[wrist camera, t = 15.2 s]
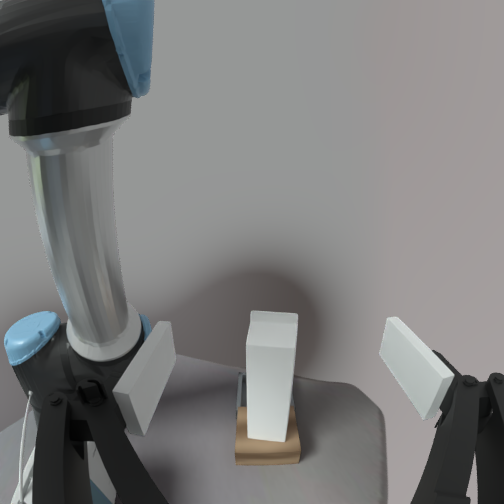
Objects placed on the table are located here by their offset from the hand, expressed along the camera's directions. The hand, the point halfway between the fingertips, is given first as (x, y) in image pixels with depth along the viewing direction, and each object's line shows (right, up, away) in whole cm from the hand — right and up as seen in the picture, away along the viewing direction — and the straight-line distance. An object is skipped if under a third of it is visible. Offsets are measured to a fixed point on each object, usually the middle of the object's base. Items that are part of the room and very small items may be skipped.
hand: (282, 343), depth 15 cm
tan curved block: (+1, -28, +24) cm, 36 cm away
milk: (+1, -24, +23) cm, 33 cm away
